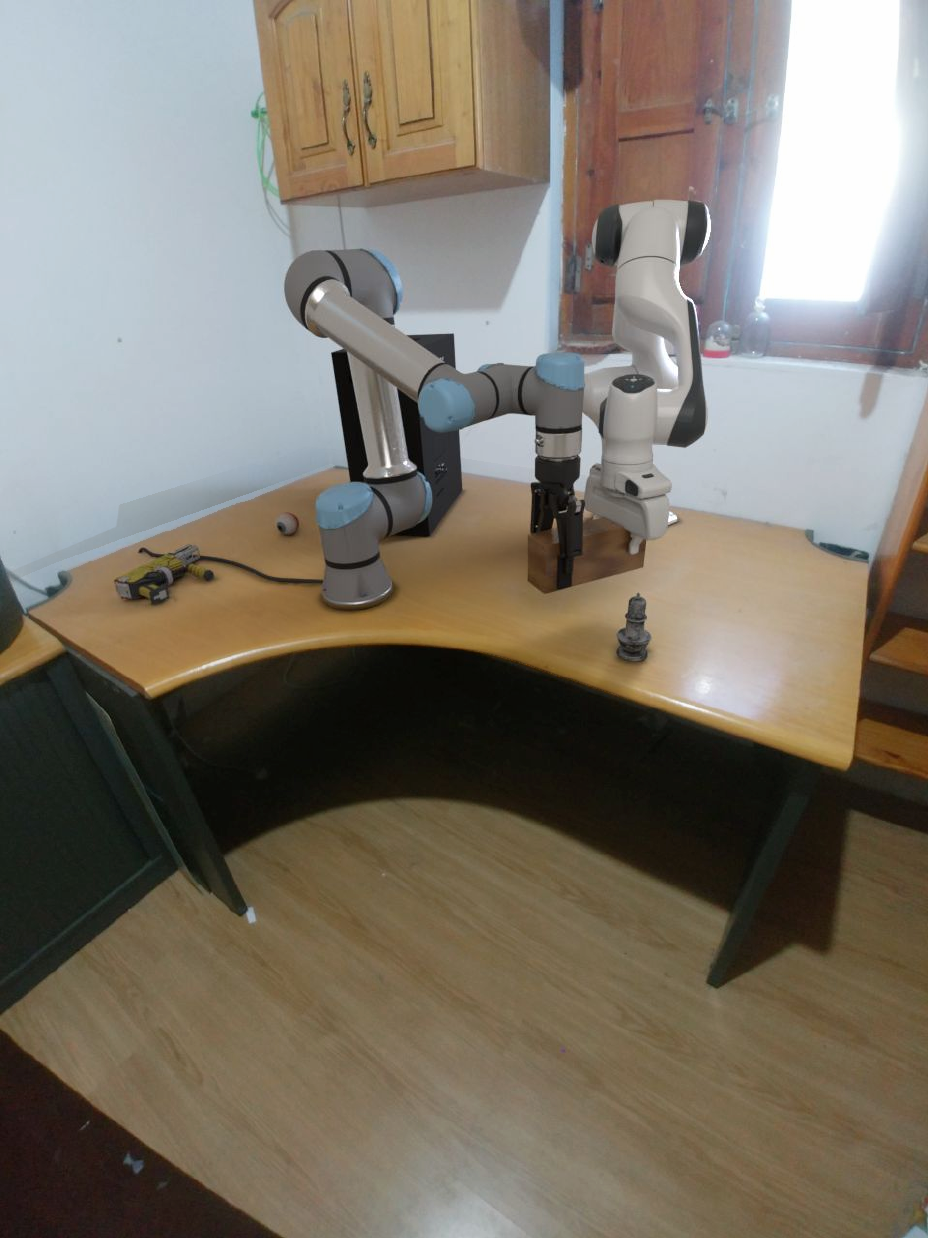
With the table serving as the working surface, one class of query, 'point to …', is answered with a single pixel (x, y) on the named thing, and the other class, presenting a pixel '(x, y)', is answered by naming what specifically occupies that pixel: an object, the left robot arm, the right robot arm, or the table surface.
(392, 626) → the table surface
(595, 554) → the box
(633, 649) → the grey chess piece
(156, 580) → the toy gun
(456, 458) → the black computer tower
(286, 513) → the eyeball
